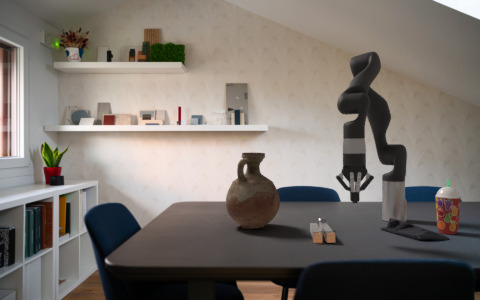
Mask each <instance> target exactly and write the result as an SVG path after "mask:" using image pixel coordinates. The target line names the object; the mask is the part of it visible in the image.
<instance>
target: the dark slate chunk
mask: <svg viewBox="0 0 480 300" xmlns="http://www.w3.org/2000/svg"><path fill="white" fill-rule="evenodd" d="M380 230H381V231H385V232H388V233H391V234H394V235H399V236H401V237H405V238H409V239H413V240H417V241H447V240H450V238H449V236H447V235H445V234H443V233H440V232H435V231H433V230H429V229H427V228H423V227H421V226H418V225H415V224H413V223H409V222H403V221H400V220H397V219H394V218H390V219H389V221H388V223H387V225H386V226H384V227H380Z"/></svg>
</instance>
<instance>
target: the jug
mask: <svg viewBox="0 0 480 300" xmlns="http://www.w3.org/2000/svg"><path fill="white" fill-rule="evenodd" d="M241 158H242V159H240V160H239V161H238V163H237V169H236V174H237V178H236V179H234V180H232V182H231V184H230V185H229V188H228V190H227V193H226V196H225V197H226V198H225V207H226V211H227V213H228V215H229V216H230V217H231V219H232V220H233V221H234V222H235V223H237V224H238V225H240V228H241V229H245V230H250V229H253V230H254V229H260V228H264V227H265V226H266V225H268V224H270V222H271V221H273V220H274V219H275V217H276V216H277V214H278V212H279V210H280V207H281V206H280V205H281V198H280V195H279V192H278V189H277V186H275V184H274V182H273V181H272V180H271V179H269V178H268V177H267V176H265V175H264V174H262V173H261V170H260V165H261V163H263V160H264V159H265V158H266V153H265V152H242V153H241ZM245 165H246V171H245V172H244V170H245Z"/></svg>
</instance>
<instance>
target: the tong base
mask: <svg viewBox="0 0 480 300" xmlns="http://www.w3.org/2000/svg"><path fill="white" fill-rule="evenodd" d="M319 222H325V223H327V218H326V217H317V222H310V223H309V226H310V227H309V232H310V235H311V237H312V242H313V244H323V235H322V232H321V231H320V229H319Z"/></svg>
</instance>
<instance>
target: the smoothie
mask: <svg viewBox="0 0 480 300" xmlns="http://www.w3.org/2000/svg"><path fill="white" fill-rule="evenodd" d="M449 180H450V179H448V178H446V186H443V187H441V188H439V189H438V191H437V192H436V194H435V195H434V196H435V197H434V198H435V209H436V211H435V213H436V227H437V230H438V233H439V234H442V235H456V234H457V232H458V231H459V226H460V225H459V222H460V214H461V213H460V211H461V198H462V196H460V194H459V191H457V189H456V188H454V187H452V186H449V185H450V181H449Z"/></svg>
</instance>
